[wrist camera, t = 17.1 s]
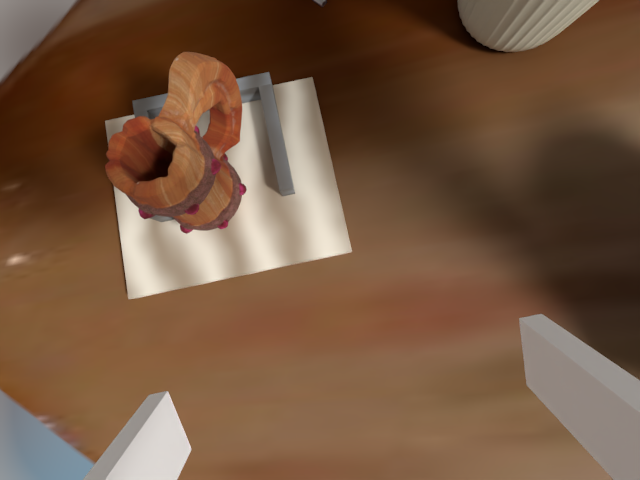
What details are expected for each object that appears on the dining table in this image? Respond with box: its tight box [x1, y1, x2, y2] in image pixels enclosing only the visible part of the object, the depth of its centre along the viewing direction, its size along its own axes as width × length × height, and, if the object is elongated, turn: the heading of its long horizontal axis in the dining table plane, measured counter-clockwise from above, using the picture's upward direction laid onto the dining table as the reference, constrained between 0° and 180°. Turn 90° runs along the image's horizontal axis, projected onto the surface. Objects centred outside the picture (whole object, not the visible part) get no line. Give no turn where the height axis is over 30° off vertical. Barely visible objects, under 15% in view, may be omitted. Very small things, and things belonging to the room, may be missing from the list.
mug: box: [105, 52, 247, 234], centre depth 29 cm, size 15×8×15 cm, turn 153°
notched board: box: [105, 72, 352, 299], centre depth 36 cm, size 26×22×4 cm
